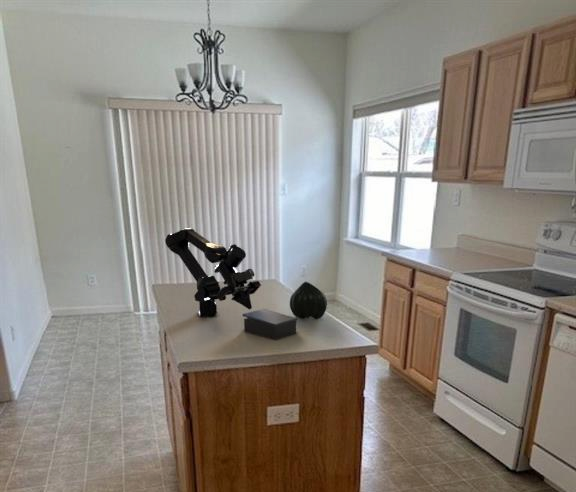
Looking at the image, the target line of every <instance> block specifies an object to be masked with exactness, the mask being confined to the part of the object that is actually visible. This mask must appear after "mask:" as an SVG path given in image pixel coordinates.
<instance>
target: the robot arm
mask: <svg viewBox="0 0 576 492" xmlns="http://www.w3.org/2000/svg"><path fill="white" fill-rule="evenodd" d="M164 240H165V241H164V242H165V245H166V247H167V248H168V250H170V251H171V253H173V254H176V255H177V256H178V257H179V258H180V260H181V261H182V262H183V264H184V266H185V267H186V268H187V270H188V271H189V273H190V274H191V276H192V277H193V279H194V280H195V282H196V290H197V291H196V293H195V294H194V295H193V296H194V300H195V302H198V306H199V307H198V310H199V311H198V315H199V317H200V318H201V317H202V318H203V317H217V313H218V307H217V306H218V305H217V302H216V300H219V302H223V301H226V300H227V296H230V295H231V296H232V297H231V299H230V300H231V301H234V302H236V303H238V304H239V305H242V306H243V307H244V308H246V309H248V310H251V309H252V308H253V306H252V302H251V296H250V295H254V294H255V293H256V292H257V291H258V290H259V289H260V288H261V286H262V284H261V282H260V281H259V280H257V279H256V280H253V279H254V277H255V272H254V270H253V269H252V268H247V269H245V270H244V271H241V272H240V271H237V269H236V268H238V267H239V266H240V265H241V263H242V262H243V261H244V260H245V258H246V257H247V253H246V251H245V249H243V248H241V247H239V246H238V245H237V244H235V243H234V244H231V245H230V246H229V248H228V249H227V248H226V247H225V246H223V245H220V244H218V243H213V242H211V241H210V240H208V239H206V238H205V237H203V236H202V235H201V234H200V233H198V232H197V231H196V230H194V228H191V227H190V228H189V227H187V228H182V229H181V230H179V231H177V232H173V233H168V234H167V235H166V237H165V238H164ZM190 244H191V245H192V246H194V247H195V248H196V249H198V250H199V251H201V252H202V253H203V255H204V257H205V259H207V261H208V262H209V263H210V264H215V263H218V265H215V268H214V273H215V274H218V273H219V274H220V275H221V277H222V279H223V280H224V281H223V285H225V286H222V287H221V286H220V282H219V281H218V280H217V278H216V277H215V276H214V275H208V274H207V273H206V271H205V270H204V268H203V267H202V266H201V264H200V263H199V261H198V260H197V259H196V257H195V256H194V254H193V253H192V251H191V250H190ZM248 281H249V283H248Z"/></svg>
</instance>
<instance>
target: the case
mask: <svg viewBox="0 0 576 492" xmlns="http://www.w3.org/2000/svg"><path fill="white" fill-rule="evenodd" d="M243 330H244V332H247V333H250V334H254V335H257V336H261V337H264V338H268V339H272V340H278V339H281V338H284V337H287V336H288V337H289V336H291V335H294V334H297V319H296V320H295V321H292V322H289V323H285V324H282V325H278V326H272V325H269V324H266V323H263V322H260V321H257V320H253V319H250V318H247V317H244V318H243Z"/></svg>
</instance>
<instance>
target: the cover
mask: <svg viewBox="0 0 576 492" xmlns="http://www.w3.org/2000/svg"><path fill="white" fill-rule="evenodd" d="M242 317H244V318H250V319H253V320H257V321H260V322H263V323H266V324H269V325H272V326H278V325H282V324H285V323H289V322H292V321H295V320H296V321H297V318H298V317H295V316H291V315H288V314H284V313H280V312H276V311H273V310H270V309H267V308H261V309H257V310H252V311H248V312H245V313H242Z"/></svg>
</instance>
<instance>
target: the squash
mask: <svg viewBox="0 0 576 492" xmlns="http://www.w3.org/2000/svg"><path fill="white" fill-rule="evenodd" d="M327 308H328V300H327V297H326V295H325V293H324V292H323V291H322V290H321V289H319V287H317V286H315V285H314V284H312V283H310V282H309V281H304V282H303V283H301V284H300V285H299V286H298V288H297V289H295V290H294V292H293V293H292V294H291V296H290V300H289V309H290V311H291V313H292V314H293V316H294V317H295V318H298V319H299V320H305V319H309V318H312V319H314V320H319V319H321V318H323V317H324V315H325V313H326V311H327Z"/></svg>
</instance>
